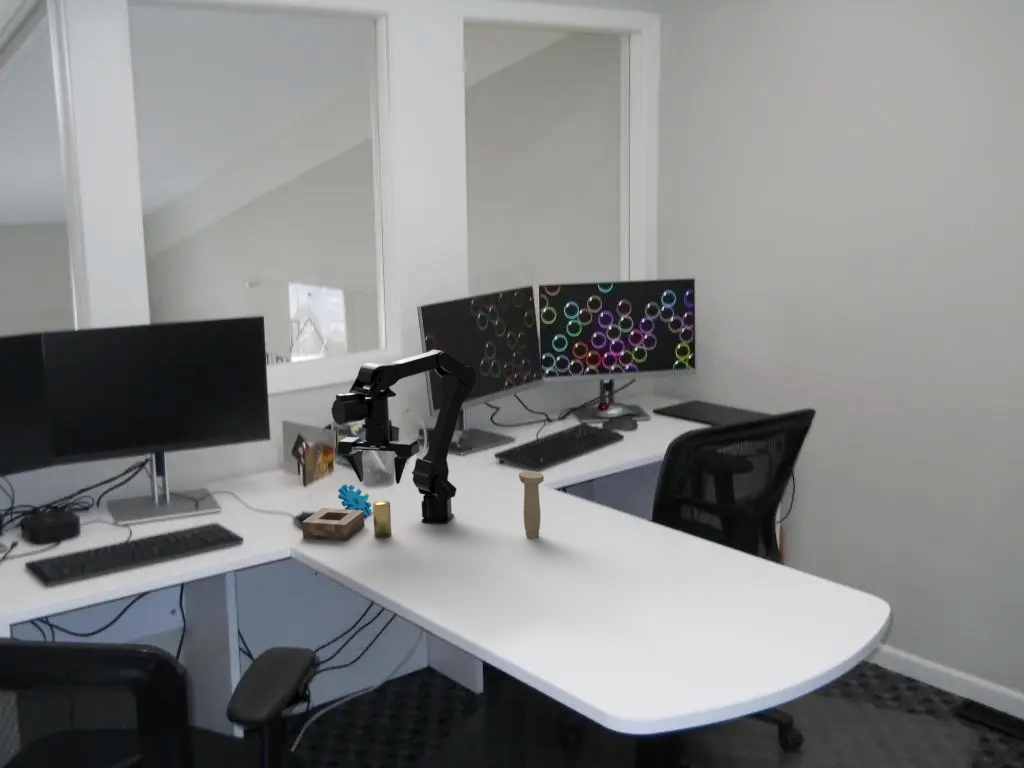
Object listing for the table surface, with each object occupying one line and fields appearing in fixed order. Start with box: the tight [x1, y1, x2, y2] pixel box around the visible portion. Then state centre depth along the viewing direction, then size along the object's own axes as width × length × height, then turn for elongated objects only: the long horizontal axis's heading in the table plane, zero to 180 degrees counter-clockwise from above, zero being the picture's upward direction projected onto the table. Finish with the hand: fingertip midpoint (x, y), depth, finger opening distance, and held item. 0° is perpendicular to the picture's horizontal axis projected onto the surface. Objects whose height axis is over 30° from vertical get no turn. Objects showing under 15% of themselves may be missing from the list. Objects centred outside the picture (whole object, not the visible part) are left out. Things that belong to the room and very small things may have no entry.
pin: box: [372, 500, 392, 539], centre depth 236 cm, size 4×4×8 cm
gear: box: [337, 484, 373, 518], centre depth 254 cm, size 11×6×10 cm
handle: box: [518, 470, 544, 539], centre depth 233 cm, size 5×6×15 cm
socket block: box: [301, 507, 365, 542], centre depth 240 cm, size 11×11×4 cm
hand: (379, 482), depth 235 cm, fingers open, 9 cm apart
